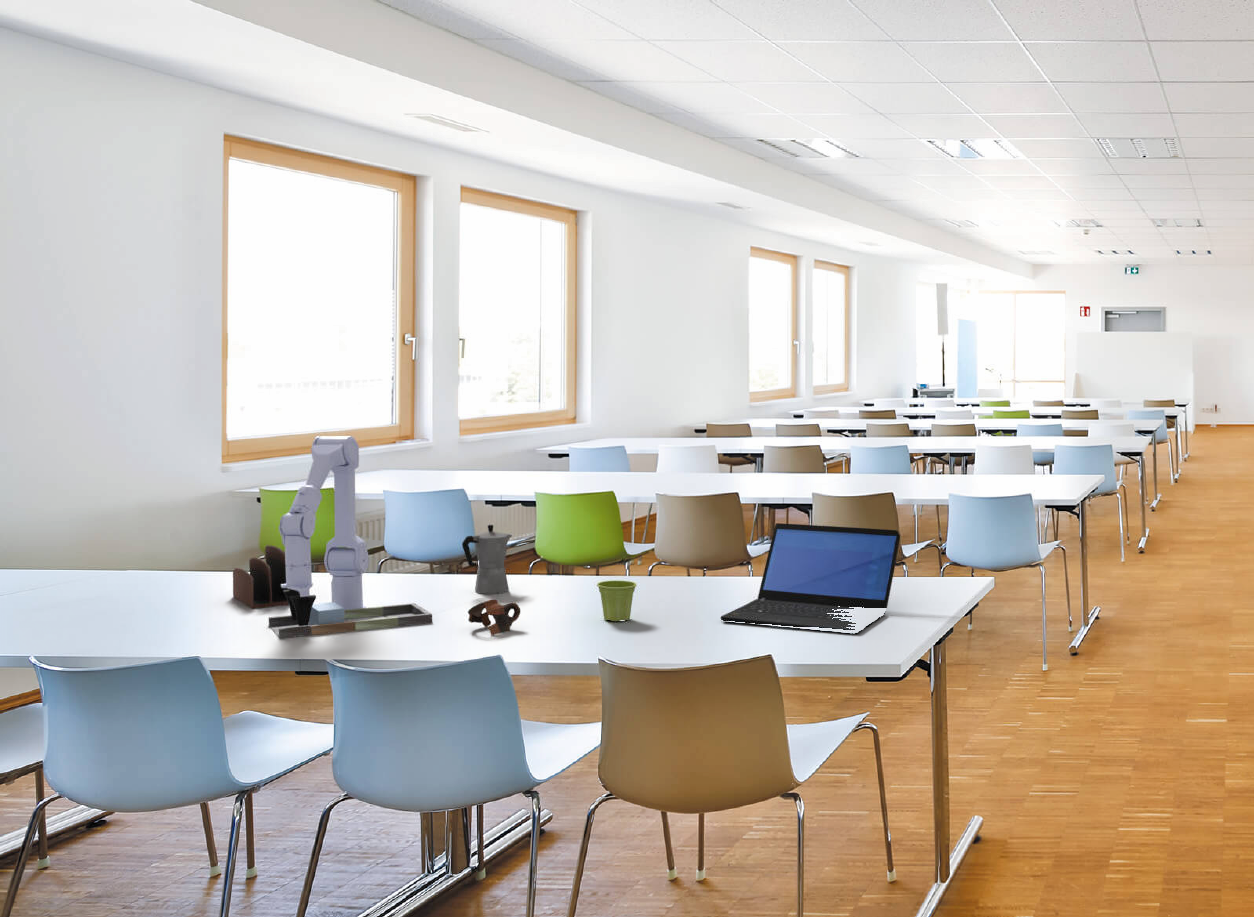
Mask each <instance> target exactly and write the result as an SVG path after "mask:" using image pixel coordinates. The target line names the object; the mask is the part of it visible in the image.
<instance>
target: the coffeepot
mask: <svg viewBox="0 0 1254 917" xmlns="http://www.w3.org/2000/svg"><path fill="white" fill-rule="evenodd" d="M487 530H488V531H485V532H482V533H478V534H476V535H466V537H465V538H464V540H463V541H462V548H463V552H464V555H465V557H466V560H467V564H468V566H469V567H476V566H477V562H473V557H472V554H471V549H470V546H469V544H470V543H472V544H474V546H475V547H474V548H475V552H476V557H477V561H478V568H477V573H476V580H475V587H474V588H475V589H474V590H475V592H476V593H477V594H482V595H496V594H503V593H507V592H508V591H510V588H509V584H508V578H507V572H506V568H505V560H506V556H507V548H508V542H509V541H510V538H512V537H513V535H512V534H509V533H503V532H497V531H494V525H493V524H489V525H487Z"/></svg>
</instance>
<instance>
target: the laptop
mask: <svg viewBox="0 0 1254 917" xmlns="http://www.w3.org/2000/svg"><path fill="white" fill-rule="evenodd" d="M900 540H901V534H900V533H899V531H898V530H895V529H882V528H881V529H880V528H869V527H868V528H866V527H865V528H864V527H853V526H852V527H850V526H849V527H848V526H833V525H832V526H831V525H818V524H817V525H816V524H801V523H800V524H799V523H798V524H797V523H780V522H776V523H775V525H774V529H773V533H772V537H771V541H770V546H769V548H768V553H767V557H766V562H765V565H764V571H763V574H762V578H761V582H760V586H759V591H758V595H757V598H756V599H754V600H752V601H750V602H748V603H746V604H744V605H743V606H740V607H738V608H735V609H733V610H731V611H730V612H727V613H725V614H723V615H721V616H720V620H721V621H722V620H723V621H722V622H724V621H735V622H745V623H755V624H772V625H781V626H793V627H819V628H832V629H843V630H855V629H851V628H850V629H849V628H846V627H855V626H851V625H848V624H856V623H852V622H849V621H841V620H846V619H841V618H833V617H837V616H838V617H843V616H842V615H839V614H838V615H835V616H834V614H827V613H841V611H843V610H841V611H835V612H834V610H837V609H854V608H849V607H862V608H863V607H864V608H887V609H888V605H889V599H890V594H891V588H892V584H893V579H894V573H895V568H896V564H897V558H898V552H899V546H900ZM838 606H840V607H838ZM832 609H834V610H832ZM842 613H849V612H845V611H844V612H842ZM830 615H831V616H830ZM844 617H852V616H847V615H845V616H844ZM832 618H833V619H832ZM839 619H841V620H839ZM850 620H851V619H850Z"/></svg>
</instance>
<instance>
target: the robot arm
mask: <svg viewBox="0 0 1254 917" xmlns="http://www.w3.org/2000/svg"><path fill="white" fill-rule="evenodd" d="M359 448H360V446H359V443H358V442H357V440H356V438H355V437H353V436H351V435H349V436H321V435H318V436H315V438H314V440H313V441H312V442H311V448H310V451H311V458H312V464H311V466H310V469H309V473H308V475H307V480H306V483H305V485H304V486H303V485H302V486H301V487H299V488H298V489H297V493H296V495H295V497H294V500H293V502H292V504H291V506H290V509H289V511H288V512H287V513H285V514H283V515H282V516H281V518H280V520H279V526H278V531H279V534H280V536H281V542H282V545H283V546H284V552H285V563H286V584H281V587H282V588H288V589H289V590H283V592H284V594H285V596H286V598H287V600H288V603H289V605H288V607H289V610H290V611H289V612H290V615H291V616H292V619H293V620H297V622H298V625H299V626H309V619H310V613H311V609H312V606H313V604H315V600H316V599H317V595H316V594H311V595H310V590H311V588H313V586H314V584H313V579H312V556H311V553H312V552H311V537H312V536H313V535H314V533H315V529H316V520H317V516H316V513H317V511H318V508H319V506H320V503H321V501H322V498H323V495H322V492H320V491H321V490H322V487H323V485H324V484H325V481H326V480H327V478H328V476H329V474H330V472H332V473H333V480H334V481H333V485H334V486H333V490H334V493H333V494H334V495H333V496H334V536H333V537H332V538H331V539H330V540H329V541H328V542H327V543H326V545H325V546H326V547H325V548H326V549H325V553H324V558H323V561H324V562H323V563H324V567H325V569H326V571H327V572H328V573H329V575H330V576H332V579H331V582H330V584H331V585H330V586H331V590H330V591H331V602H335V603H336V604H338V605H340V606H341V607H343V608H344V610H349V609H359V608H368V607H367V606H365V605H364V598H363V597H364V596H363V592H364V591H363V574H365V573H366V571H367V569H368V568H369V565H370V564H369V563H370V556H369V552H368V546H367V541H365V540H364V539H362V538H361V537H359V535H357V533H356V532H357V527H356V525H357V524H356V520H357V518H356V513H357V512H356V469H358V468H359V466H360V465H359V464H360V454H359V453H360V449H359Z"/></svg>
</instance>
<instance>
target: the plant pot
mask: <svg viewBox="0 0 1254 917" xmlns="http://www.w3.org/2000/svg"><path fill="white" fill-rule="evenodd" d="M637 585H638V583H636V582H634V581H629V580H604V581H600V582H598V583H597V584H596V586H597V587H598V590H599V593H600V598H601V599H600V600H601V607H602V613H603V620H604V621H606V620H610V621H612V622H613V621H620V620H627V621H629V620H628V619H631V615H632V614H631V613H632V604H633V597H634V592H635V589H636V587H637Z"/></svg>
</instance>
